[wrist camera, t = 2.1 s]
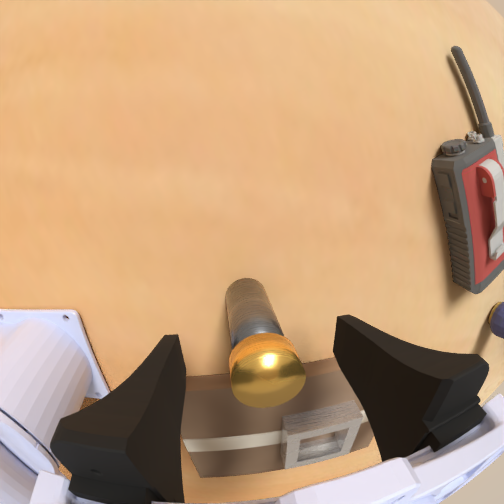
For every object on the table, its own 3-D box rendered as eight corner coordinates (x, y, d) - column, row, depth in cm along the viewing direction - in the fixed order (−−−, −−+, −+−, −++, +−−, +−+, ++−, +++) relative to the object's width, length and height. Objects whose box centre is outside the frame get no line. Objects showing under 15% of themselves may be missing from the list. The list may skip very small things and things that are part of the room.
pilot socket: (280, 452, 20) (284, 469, 18) (282, 416, 19) (287, 435, 17) (341, 438, 21) (348, 453, 19) (353, 399, 19) (363, 416, 17)
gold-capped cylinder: (224, 318, 17) (235, 411, 10) (220, 277, 16) (228, 361, 9) (269, 314, 17) (303, 401, 10) (268, 272, 16) (308, 350, 9)
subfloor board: (200, 466, 22) (200, 478, 21) (166, 377, 18) (164, 392, 16) (363, 437, 24) (368, 447, 23) (396, 341, 20) (406, 352, 18)
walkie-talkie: (499, 250, 20) (450, 48, 13) (529, 264, 16) (486, 38, 9) (450, 296, 20) (382, 60, 14) (481, 318, 16) (423, 42, 9)
